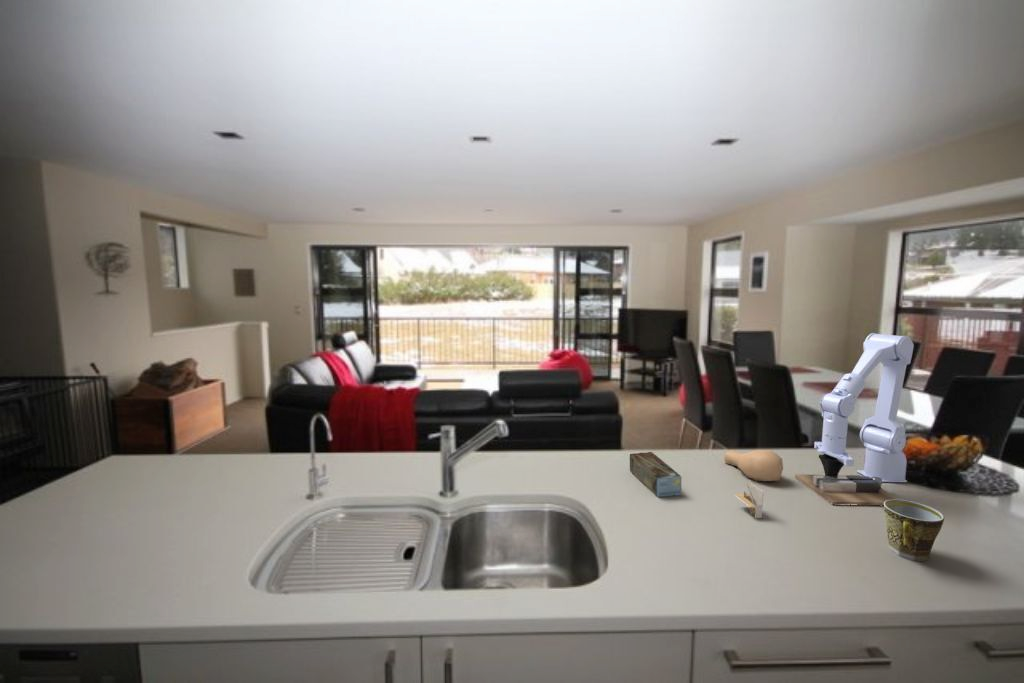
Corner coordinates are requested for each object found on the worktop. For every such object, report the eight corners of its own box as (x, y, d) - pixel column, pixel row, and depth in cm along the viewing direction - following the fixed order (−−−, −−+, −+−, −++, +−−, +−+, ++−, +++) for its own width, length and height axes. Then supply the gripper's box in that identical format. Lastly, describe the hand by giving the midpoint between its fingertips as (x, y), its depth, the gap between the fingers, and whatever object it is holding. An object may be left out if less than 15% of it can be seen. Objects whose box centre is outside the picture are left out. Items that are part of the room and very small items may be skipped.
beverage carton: (655, 498, 128) (656, 475, 128) (628, 471, 147) (628, 451, 146) (682, 496, 130) (682, 473, 129) (651, 469, 148) (652, 450, 148)
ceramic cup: (884, 535, 108) (888, 495, 107) (942, 553, 101) (947, 510, 99) (872, 557, 100) (876, 513, 98) (934, 578, 92) (939, 531, 91)
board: (858, 478, 140) (859, 475, 140) (906, 506, 122) (906, 502, 122) (794, 477, 141) (795, 474, 141) (832, 505, 123) (832, 501, 123)
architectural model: (749, 520, 117) (751, 492, 116) (734, 507, 123) (735, 480, 122) (762, 519, 117) (764, 491, 116) (746, 506, 124) (747, 480, 123)
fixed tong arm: (873, 489, 130) (874, 480, 129) (878, 492, 128) (879, 482, 128) (819, 489, 131) (819, 479, 130) (823, 492, 129) (823, 482, 128)
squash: (766, 490, 133) (760, 460, 133) (716, 472, 152) (711, 446, 152) (794, 478, 136) (788, 449, 136) (742, 463, 155) (737, 437, 155)
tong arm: (877, 485, 132) (878, 476, 132) (883, 489, 130) (884, 479, 129) (812, 483, 134) (812, 474, 134) (816, 486, 131) (817, 477, 131)
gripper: (805, 427, 140) (802, 470, 141) (836, 443, 125) (832, 491, 127) (829, 427, 139) (825, 470, 141) (863, 444, 125) (858, 491, 126)
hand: (830, 480), depth 134 cm, fingers closed
